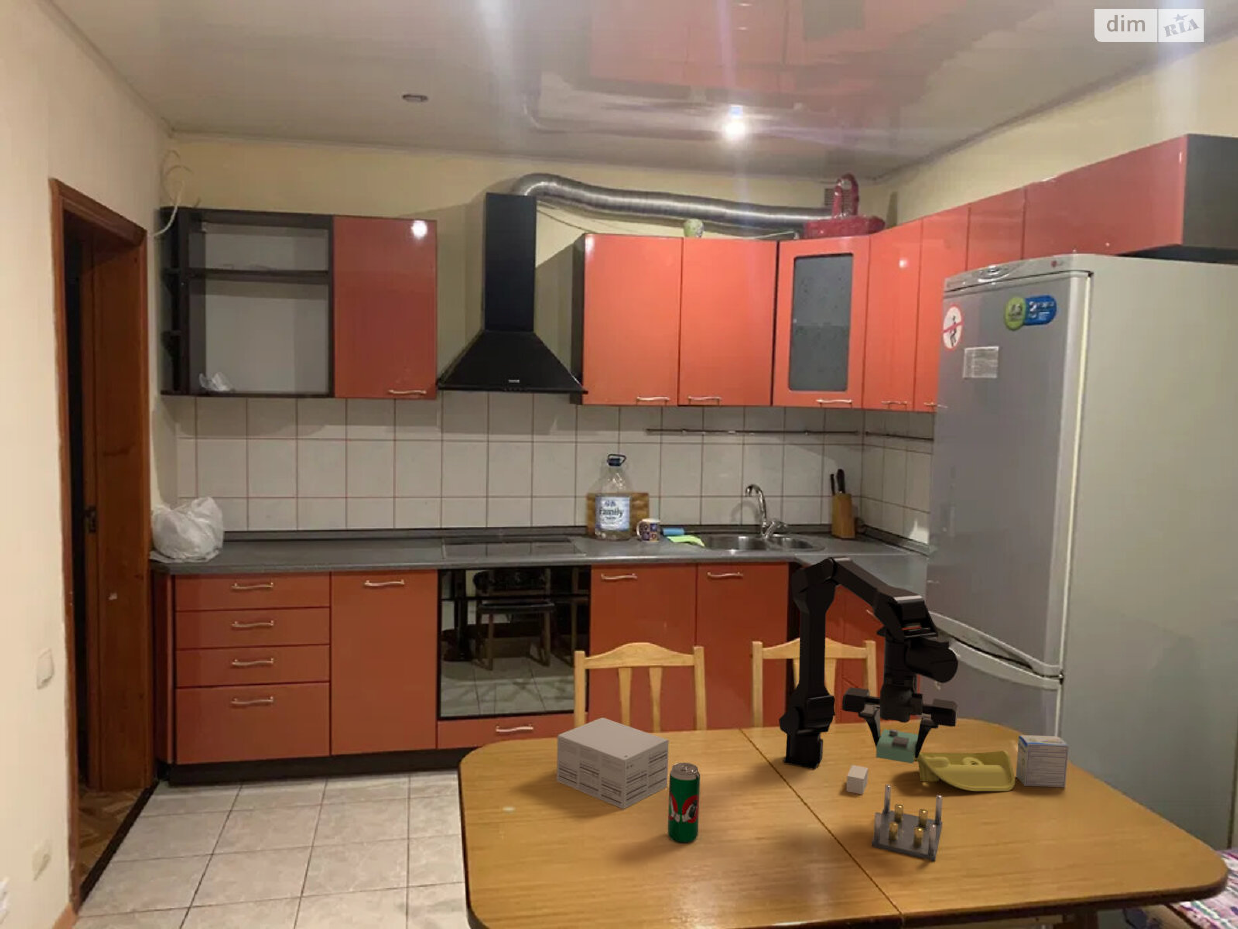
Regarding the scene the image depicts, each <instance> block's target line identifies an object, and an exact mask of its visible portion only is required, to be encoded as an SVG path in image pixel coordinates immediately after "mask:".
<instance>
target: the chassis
mask: <svg viewBox="0 0 1238 929" xmlns="http://www.w3.org/2000/svg"><path fill="white" fill-rule="evenodd" d="M884 786H885V787H884V799H883V800H884V801H883V802H884V803H883V809H882V812H879V811H876V812H874V826H873V827H874V829H873V837H872V839H871V847H872V848H876V849H881V850H886V851H889V852H894V853H899V854H903V855H907V856H912V857H915V858H921V859H924V860H927V861H928V860H929V861H932V862H933V861H934V862H936V859H937V854H938V847H939V844H940V839H941V834H942V828H943V821H942V810H943V795H940V794H937V795H936V798H935V812H934V813H935V814H934V819H932V818H929V817H928V810H926V809H924V808H923V809H922V808H920V809H918V815H914V814H909V813H904V805H903V804H900V803H896V804H895V805H894V810H891V794H892V785H890V784H885V785H884Z"/></svg>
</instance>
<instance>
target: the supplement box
mask: <svg viewBox="0 0 1238 929" xmlns="http://www.w3.org/2000/svg"><path fill="white" fill-rule="evenodd" d="M556 738H557V744H556V746H557V747H556V749H557V751H556V782H558V783H560V784H562V785H565V786H568V787H570V788H572V789H574V790H577V791H580V792H582V793H584V794H586V795H589V796H591V797H593V798H596V799H599V800H601V801H603V802H605V803H608V804H610V805H612V806H615V807H617V808H620V809H622V810H625V809H627V808H629V807H630V806H633V805H634V804H637V803H638V802H640V801H642V800H644V799H646V798H648V797H650V796H652V795H654V794H656V793H658V792H660V791H662V790H663V789H665V788H668V780H669V779H668V778H669V777H668V776H669V775H668V774H669V773H668V772H669V741H670V740H669V739H667V738H664V737H660V736H657V735H655V734H652V733H650V732H646V731H643V730H640V729H637V728H634V727H632V726H629V725H625V724H623V723H619V722H617V721H613V720H611V719H608V718H605V717H600V718H598V719H595V720H593V721H590V722H588V723H585V724H583V725H579V726H578V727H576V728H572V729H570V730H567V731H565V732H563V733H562V732H561V733H560V734H557V736H556Z"/></svg>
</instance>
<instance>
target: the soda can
mask: <svg viewBox="0 0 1238 929" xmlns="http://www.w3.org/2000/svg"><path fill="white" fill-rule="evenodd" d="M668 778H669V779H668V780H669V784H668V787H669V788H668V811H667V812H668V814H667V816H668V817H667V836H668V837H669V838H670V839H671V840H672V841H674V842H675V843H678V844H690V843H693V842H694V841H695V840H696V839H697V838H698V836H699V820H700V819H699V817H700V816H699V815H700V792H701V791H700V786H701V774H700V771H699V768H698V766H697V765H696V764H693V763H691V762H690V763H689V762H678V763H675V764H673V765H672V767H671V770H670V771H669V777H668Z"/></svg>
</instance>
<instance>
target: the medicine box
mask: <svg viewBox="0 0 1238 929" xmlns="http://www.w3.org/2000/svg"><path fill="white" fill-rule="evenodd" d="M1017 741H1018V742H1017V756H1016V758H1017V760H1016V767H1015V768H1016V771H1015V772H1016V773H1015V776H1016V778H1017V779H1018V780H1019V782H1020V783H1021V784H1022V785H1023V786H1025V787H1045V788H1047V787H1050V788H1066V783H1067V782H1066V781H1067V769H1068V768H1067V767H1068V759H1069V758H1068V757H1069V749H1070V746H1069V745H1068V744H1067V743H1066V742H1065V741H1064V740H1063V739H1062V738H1060V737H1059V736H1053V735H1052V736H1051V735H1032V734H1030V735H1029V734H1028V735H1026V734H1025V735H1023V734H1020V735H1018V740H1017Z"/></svg>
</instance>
